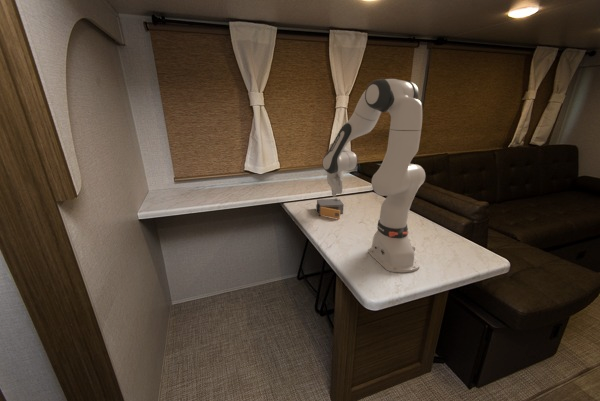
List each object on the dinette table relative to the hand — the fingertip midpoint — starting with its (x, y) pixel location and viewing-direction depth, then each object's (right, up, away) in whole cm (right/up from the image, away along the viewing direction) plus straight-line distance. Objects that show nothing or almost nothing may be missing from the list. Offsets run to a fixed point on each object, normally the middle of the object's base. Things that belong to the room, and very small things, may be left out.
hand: (333, 195), depth 145 cm
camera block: (-1, -9, +11) cm, 14 cm away
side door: (-2, -12, +2) cm, 13 cm away
